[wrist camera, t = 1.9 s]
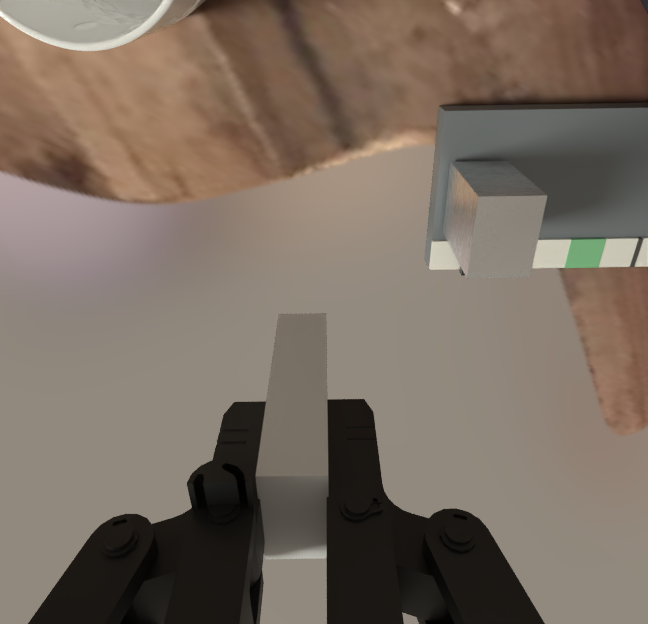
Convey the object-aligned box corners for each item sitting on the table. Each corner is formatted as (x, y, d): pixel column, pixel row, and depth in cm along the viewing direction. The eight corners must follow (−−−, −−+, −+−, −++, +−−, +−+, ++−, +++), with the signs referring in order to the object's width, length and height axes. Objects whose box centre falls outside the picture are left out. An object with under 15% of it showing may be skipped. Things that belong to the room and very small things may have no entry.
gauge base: (424, 258, 32) (454, 334, 25) (439, 105, 28) (481, 143, 20) (713, 254, 32) (828, 328, 25) (776, 100, 28) (939, 136, 20)
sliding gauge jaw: (438, 268, 31) (460, 319, 26) (450, 161, 27) (478, 196, 23) (489, 267, 31) (521, 318, 26) (507, 160, 27) (547, 195, 23)
